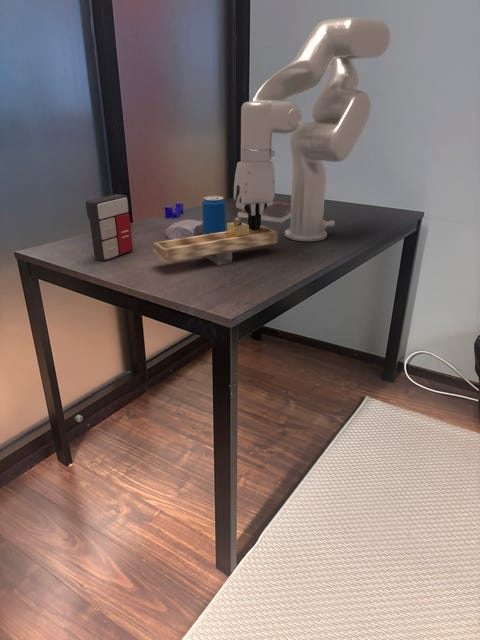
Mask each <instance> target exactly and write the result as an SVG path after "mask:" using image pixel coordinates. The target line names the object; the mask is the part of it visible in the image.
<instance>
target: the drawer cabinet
mask: <svg viewBox="0 0 480 640" xmlns="http://www.w3.org/2000/svg"><path fill="white" fill-rule="evenodd" d="M128 201H129V200H128V196H127V195H126V194H125V195H124V194H119V193H118V194H117V193H116V194H112V195H111V194H110V195H107V196H101V197H98V198H94V199H89V200H86V201H85V208H86V216H87V218H88V220H89V225H90V232H91V233H90V234H91V239H92V247H93V248H92V249H93V255H94V260H96V261H101V262H106V261H108V260H112V259H114V258H116V257H120V256H123V255H124V254H127V253H130V252H132V251H133V238H132V226H131V218H130V217H131V216H130V211H129V202H128Z"/></svg>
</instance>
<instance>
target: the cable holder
mask: <svg viewBox="0 0 480 640" xmlns="http://www.w3.org/2000/svg"><path fill="white" fill-rule="evenodd" d="M181 214H182V215H184V203H183V202H176V203H175V208H173V206H170V205H169V206H168V205H167V206H164V218H165V217H167V218H166V219H169V218H173V219H172V220H175V219H174V218H176V219H178V218H177V217H179V218H180V217H181V216H182V215H181Z"/></svg>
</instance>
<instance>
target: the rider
mask: <svg viewBox="0 0 480 640" xmlns="http://www.w3.org/2000/svg"><path fill="white" fill-rule="evenodd" d="M242 220H243V219H242V217H238V216H236V217H234V218H233V221H231V222H226V231H227V238H234V237H240V236H246V235H249V225H248V223H245V222H243V221H242Z"/></svg>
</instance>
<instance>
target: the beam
mask: <svg viewBox="0 0 480 640" xmlns="http://www.w3.org/2000/svg"><path fill="white" fill-rule="evenodd" d="M277 243H278V231H276V230H274V229H272V228H269V227H266V226H264V225H261V226H260V230H256V231H253V230H251V229H249V235H246V236H240V237H234V238H227V230H226V231H225V232H219V233H210V234H206V235H203V234H200V235H199V236H193V237H186V238H180V239H168V240H160V241H156V242H152V250H153V255H154V256H155V257H156V258H158V259H159V260H161V262H163V263H170V262H174V261H175V262H176V261H180V260H181V261H182V260H187V259H192V258H199V257H203V256H204V258H206V259H208V260H209V261H211V262H212V263H213V264H215V265H217V266H222V265H228V264H233V251H237V250H243V249H248V248H253V247H254V248H255V247H261V246H267V245H272V244H277Z"/></svg>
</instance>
